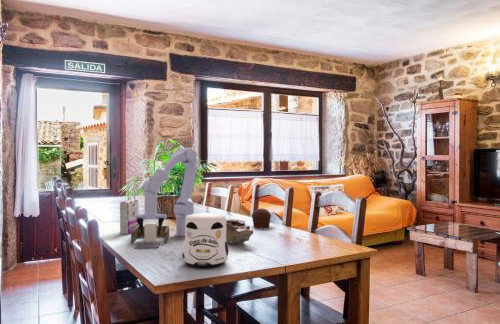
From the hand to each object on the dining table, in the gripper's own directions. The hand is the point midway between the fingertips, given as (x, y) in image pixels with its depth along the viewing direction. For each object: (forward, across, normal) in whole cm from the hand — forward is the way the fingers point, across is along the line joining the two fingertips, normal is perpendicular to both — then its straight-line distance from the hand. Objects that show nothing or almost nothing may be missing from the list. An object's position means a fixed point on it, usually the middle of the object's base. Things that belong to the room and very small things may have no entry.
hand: (150, 234), depth 189 cm
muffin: (+3, +58, +30) cm, 65 cm away
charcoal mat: (+3, 0, -12) cm, 12 cm away
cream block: (+3, 0, 0) cm, 3 cm away
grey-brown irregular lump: (+3, +41, -8) cm, 42 cm away
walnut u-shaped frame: (+3, 0, +2) cm, 3 cm away
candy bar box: (+3, -13, +20) cm, 24 cm away
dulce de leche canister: (+3, +25, -42) cm, 49 cm away
